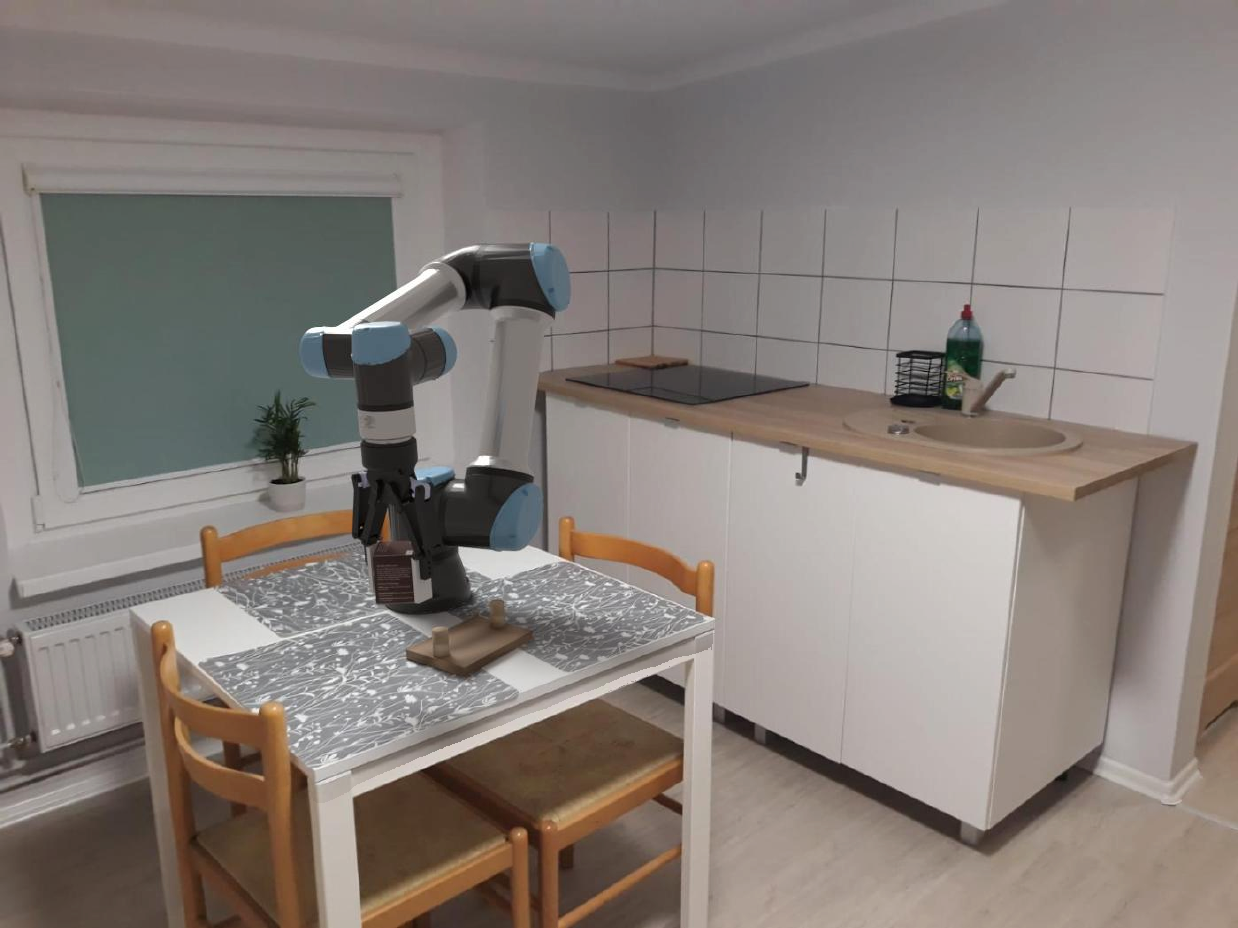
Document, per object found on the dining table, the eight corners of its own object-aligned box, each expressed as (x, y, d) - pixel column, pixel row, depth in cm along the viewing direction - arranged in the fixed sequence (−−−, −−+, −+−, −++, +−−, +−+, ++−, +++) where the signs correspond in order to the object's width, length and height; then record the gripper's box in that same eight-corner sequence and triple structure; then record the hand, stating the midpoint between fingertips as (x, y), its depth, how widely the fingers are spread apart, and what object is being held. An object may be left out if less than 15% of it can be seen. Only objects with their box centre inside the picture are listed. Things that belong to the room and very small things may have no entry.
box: (381, 589, 142) (378, 541, 140) (424, 587, 142) (420, 539, 140) (375, 605, 136) (371, 555, 134) (419, 603, 136) (415, 553, 135)
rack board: (406, 658, 150) (403, 624, 149) (476, 623, 163) (474, 592, 162) (464, 676, 144) (463, 642, 142) (533, 638, 156) (532, 606, 155)
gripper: (314, 434, 136) (329, 587, 142) (424, 452, 125) (436, 618, 130) (356, 424, 142) (369, 571, 148) (464, 440, 131) (474, 599, 136)
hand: (400, 593), depth 139 cm, fingers closed on box, 8 cm apart
